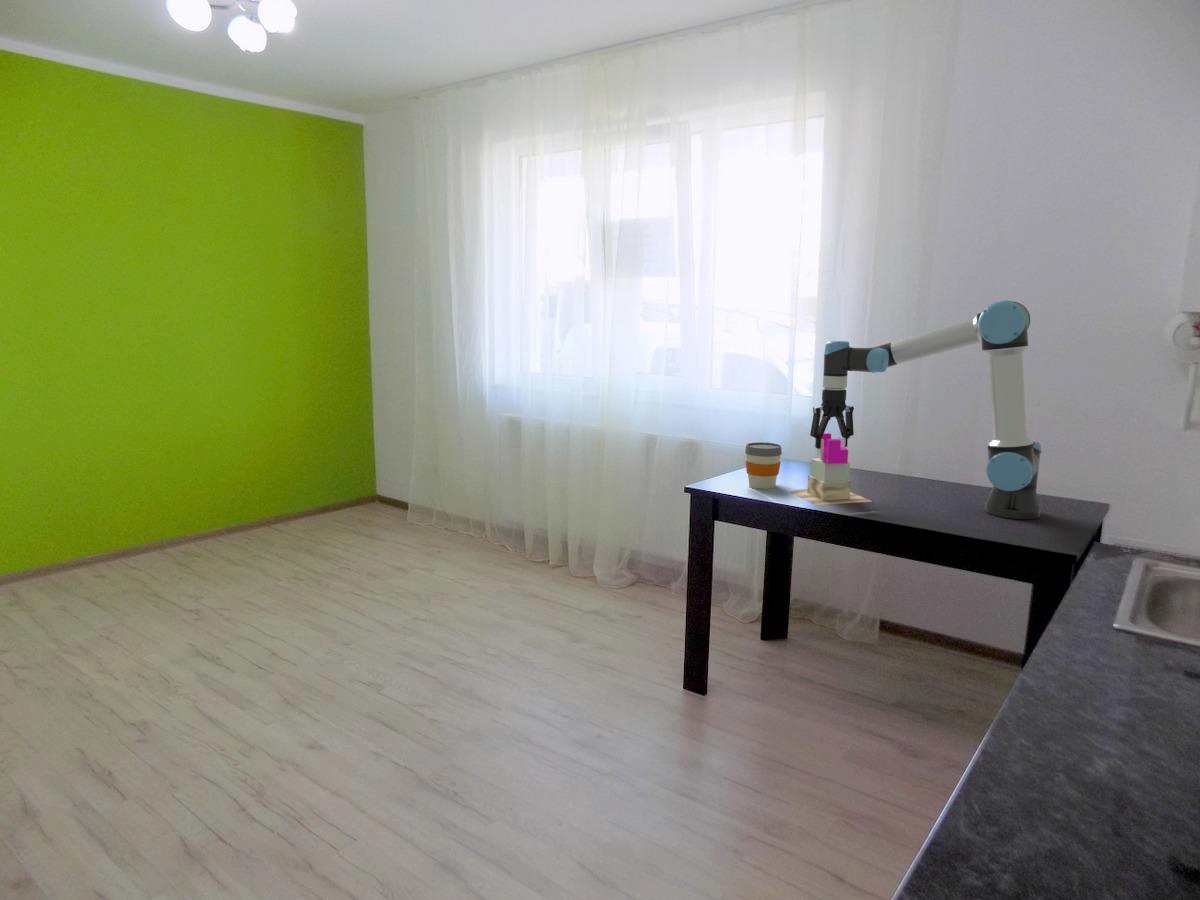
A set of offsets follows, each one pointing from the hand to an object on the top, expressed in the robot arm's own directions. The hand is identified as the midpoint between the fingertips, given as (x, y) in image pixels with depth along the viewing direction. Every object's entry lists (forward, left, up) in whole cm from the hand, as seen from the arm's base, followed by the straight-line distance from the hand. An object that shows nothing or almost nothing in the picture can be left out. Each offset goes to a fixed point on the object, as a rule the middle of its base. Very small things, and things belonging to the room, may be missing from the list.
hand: (830, 457), depth 249 cm
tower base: (0, 0, -13) cm, 13 cm away
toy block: (-1, 0, 0) cm, 1 cm away
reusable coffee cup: (+19, +15, -14) cm, 28 cm away
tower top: (0, 0, -7) cm, 7 cm away
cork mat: (0, 0, -14) cm, 14 cm away
